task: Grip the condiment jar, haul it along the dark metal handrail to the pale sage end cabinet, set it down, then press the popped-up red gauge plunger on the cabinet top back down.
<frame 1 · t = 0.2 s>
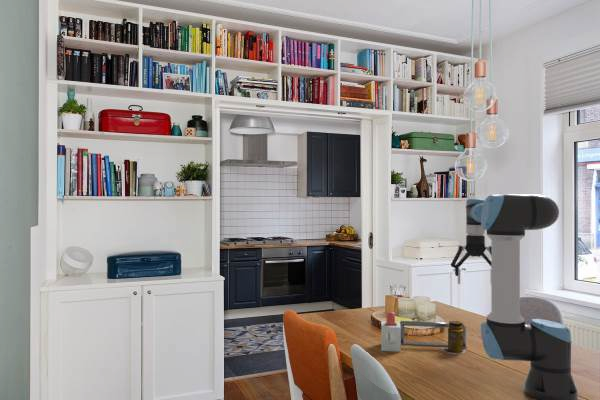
hand: (475, 284, 204), 27 cm above the table, fingers open, 13 cm apart
plunger: (390, 323, 204), point 10 cm above the table, slide at 0.0 cm
cabinet: (390, 347, 204), on the table
condiment: (453, 351, 199), on the table
handrail: (432, 345, 207), on the table
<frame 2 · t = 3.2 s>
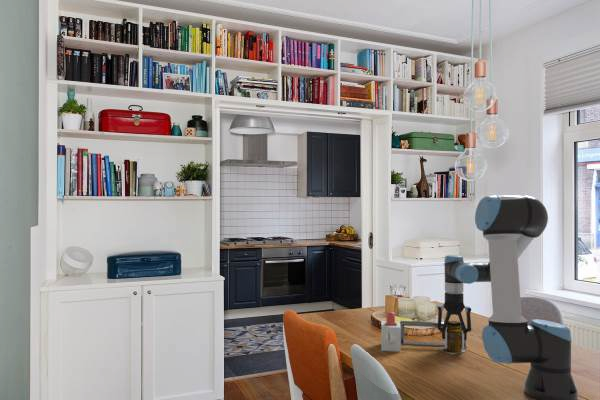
hand: (454, 347, 199), 1 cm above the table, fingers closed on condiment, 6 cm apart
condiment: (452, 351, 199), on the table, touching gripper
everything else where it was.
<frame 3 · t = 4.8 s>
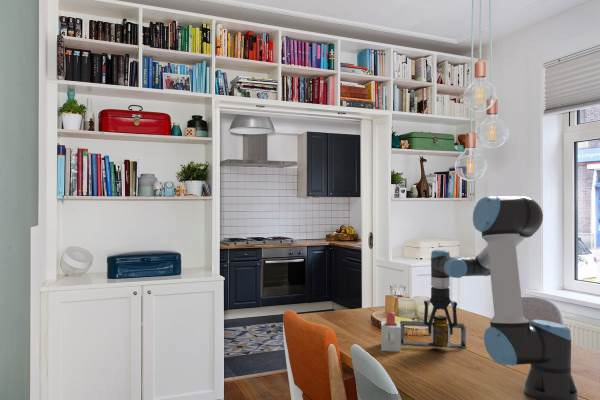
hand: (440, 341, 200), 4 cm above the table, fingers closed on condiment, 6 cm apart
condiment: (438, 345, 200), point 2 cm above the table, touching gripper
everything else where it was.
when the fingers open (2 cm above the table, at t = 6.4 s): condiment stays where it is, on the table.
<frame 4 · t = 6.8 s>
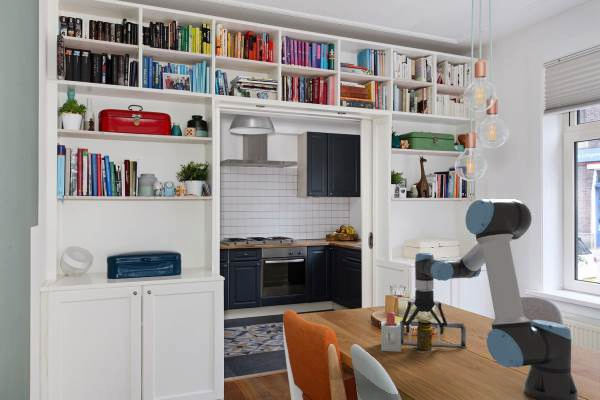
hand: (424, 341, 201), 3 cm above the table, fingers open, 11 cm apart
condiment: (422, 350, 201), on the table
everything else where it was.
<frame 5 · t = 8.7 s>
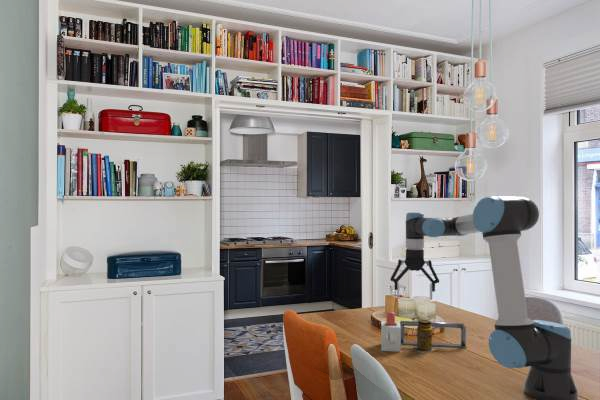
hand: (414, 298, 202), 21 cm above the table, fingers open, 13 cm apart
nothing on the table moved.
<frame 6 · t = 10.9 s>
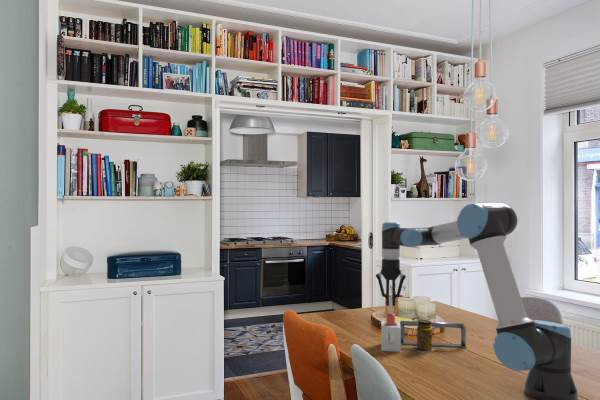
hand: (390, 313, 204), 15 cm above the table, fingers closed
plunger: (390, 324, 204), point 10 cm above the table, slide at -0.6 cm, touching gripper
everything else where it was.
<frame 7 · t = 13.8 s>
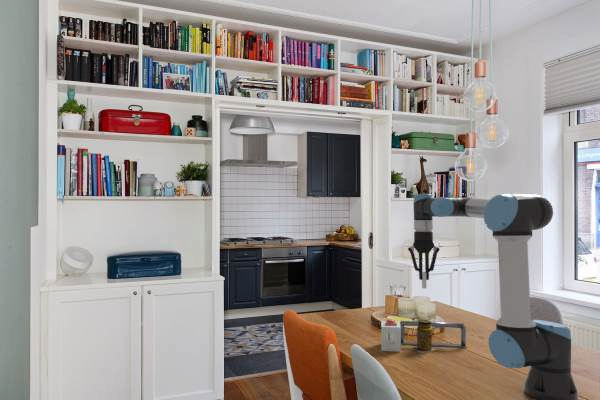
hand: (424, 287, 197), 27 cm above the table, fingers closed
plunger: (390, 330, 204), point 7 cm above the table, slide at -3.3 cm
everything else where it was.
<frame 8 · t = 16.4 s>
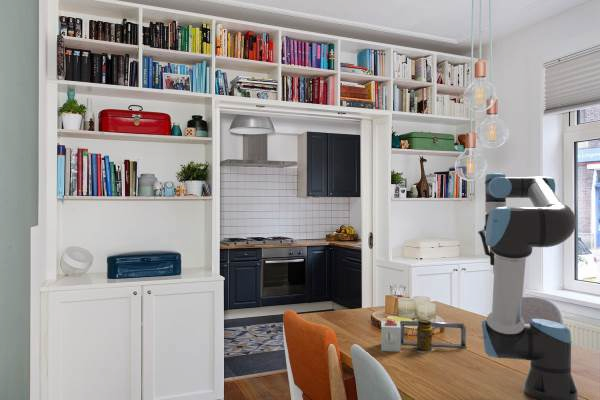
hand: (495, 273, 185), 34 cm above the table, fingers closed
nothing on the table moved.
at the end: condiment inside the target area (0.3 cm from its centre), on the table; condiment tilted 0°; plunger slide at -3.3 cm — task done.
